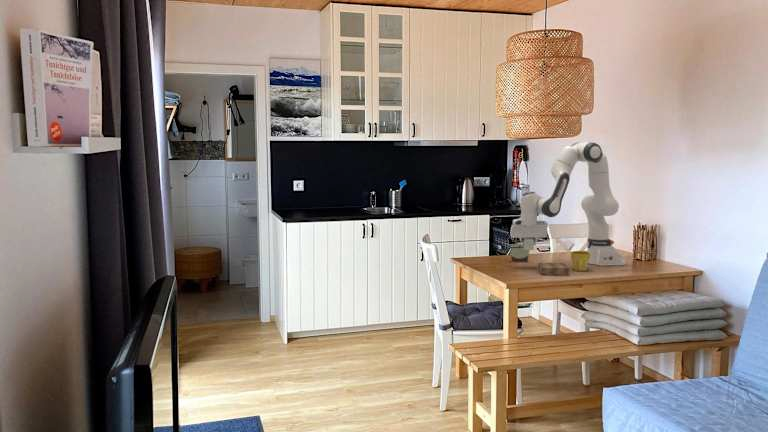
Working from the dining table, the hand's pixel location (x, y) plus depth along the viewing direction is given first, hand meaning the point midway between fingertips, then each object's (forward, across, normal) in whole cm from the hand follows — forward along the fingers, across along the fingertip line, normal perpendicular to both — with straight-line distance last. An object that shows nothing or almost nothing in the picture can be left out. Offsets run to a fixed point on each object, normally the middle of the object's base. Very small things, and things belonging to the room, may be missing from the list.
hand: (528, 245), depth 364 cm
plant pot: (+13, -27, +5) cm, 31 cm away
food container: (+13, +4, -17) cm, 21 cm away
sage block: (+2, 0, 0) cm, 2 cm away
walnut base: (+12, -11, +14) cm, 22 cm away
